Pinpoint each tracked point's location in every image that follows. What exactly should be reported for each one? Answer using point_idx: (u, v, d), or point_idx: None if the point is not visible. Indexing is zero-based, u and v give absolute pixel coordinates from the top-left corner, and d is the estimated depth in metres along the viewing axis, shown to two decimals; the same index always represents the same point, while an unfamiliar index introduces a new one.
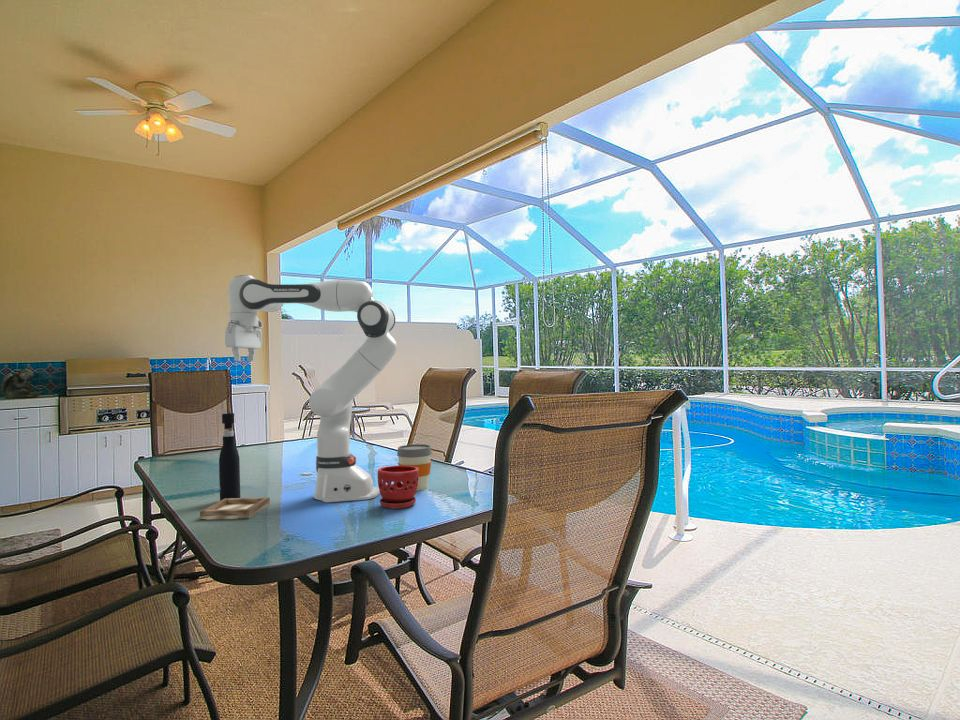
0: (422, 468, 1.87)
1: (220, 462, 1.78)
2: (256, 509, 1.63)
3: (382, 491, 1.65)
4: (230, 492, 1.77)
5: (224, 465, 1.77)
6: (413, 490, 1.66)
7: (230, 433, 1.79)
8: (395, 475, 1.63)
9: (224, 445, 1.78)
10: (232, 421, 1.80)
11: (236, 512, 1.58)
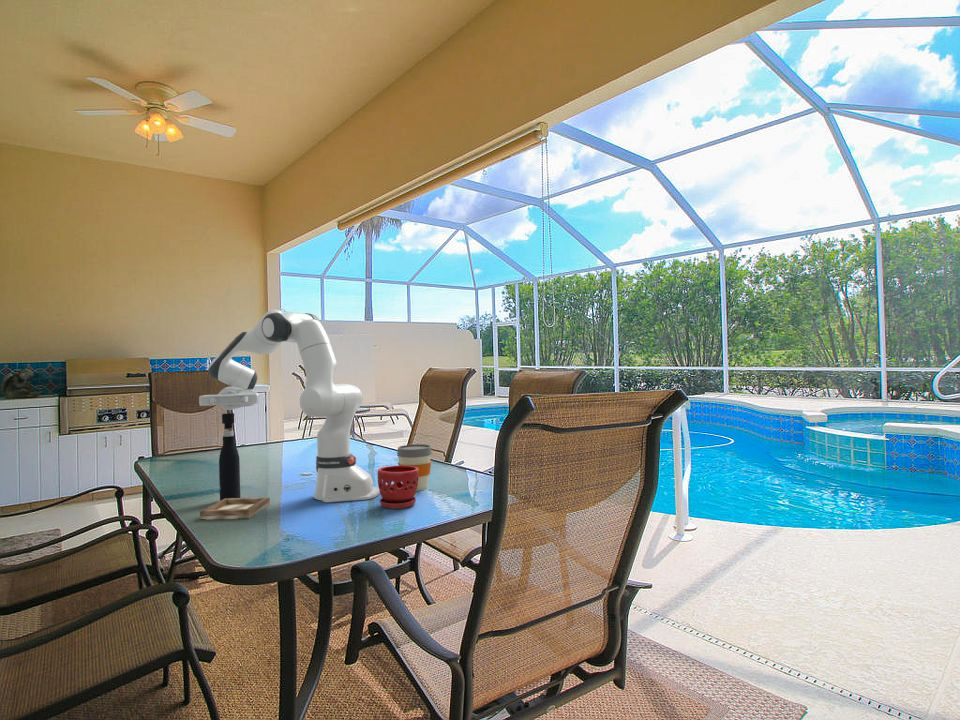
0: (422, 468, 1.87)
1: (220, 462, 1.78)
2: (256, 509, 1.63)
3: (382, 491, 1.65)
4: (230, 492, 1.77)
5: (224, 465, 1.77)
6: (413, 490, 1.66)
7: (230, 433, 1.79)
8: (395, 475, 1.63)
9: (224, 445, 1.78)
10: (232, 421, 1.80)
11: (236, 512, 1.58)
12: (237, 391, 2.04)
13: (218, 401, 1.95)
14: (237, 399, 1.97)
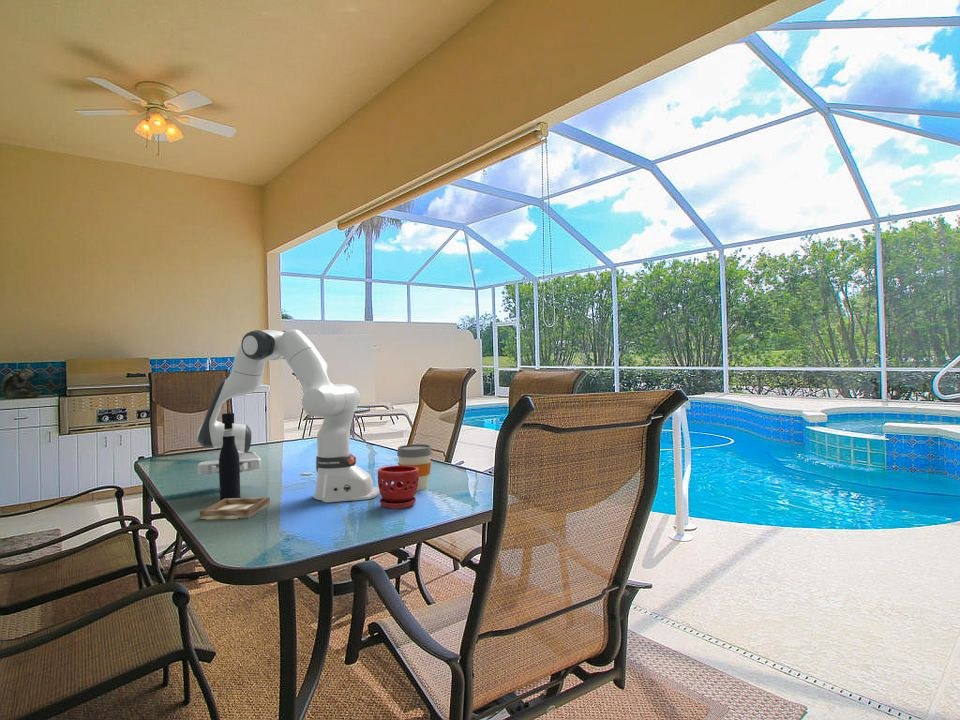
0: (422, 468, 1.87)
1: (220, 462, 1.78)
2: (256, 509, 1.63)
3: (382, 491, 1.65)
4: (230, 492, 1.77)
5: (224, 465, 1.77)
6: (413, 490, 1.66)
7: (230, 433, 1.79)
8: (395, 475, 1.63)
9: (224, 445, 1.78)
10: (232, 421, 1.80)
11: (236, 512, 1.58)
12: None
13: None
14: None
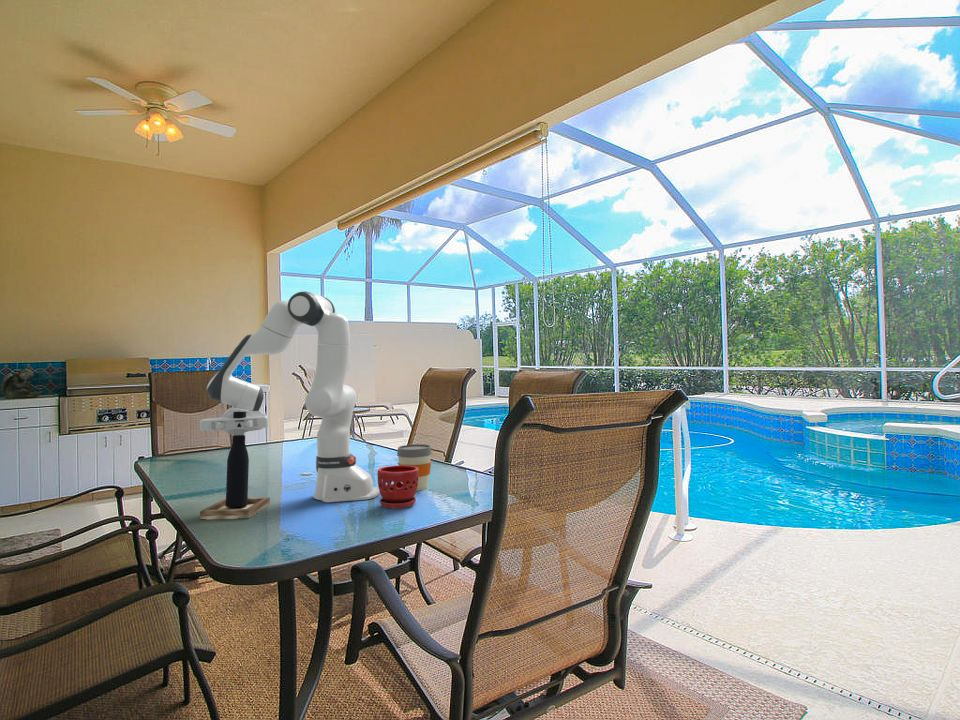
0: (422, 468, 1.87)
1: (228, 462, 1.67)
2: (256, 509, 1.63)
3: (382, 491, 1.65)
4: (237, 495, 1.66)
5: (232, 465, 1.67)
6: (413, 490, 1.66)
7: (240, 432, 1.70)
8: (394, 475, 1.63)
9: (233, 444, 1.69)
10: None
11: (236, 512, 1.58)
12: None
13: None
14: (244, 423, 1.71)
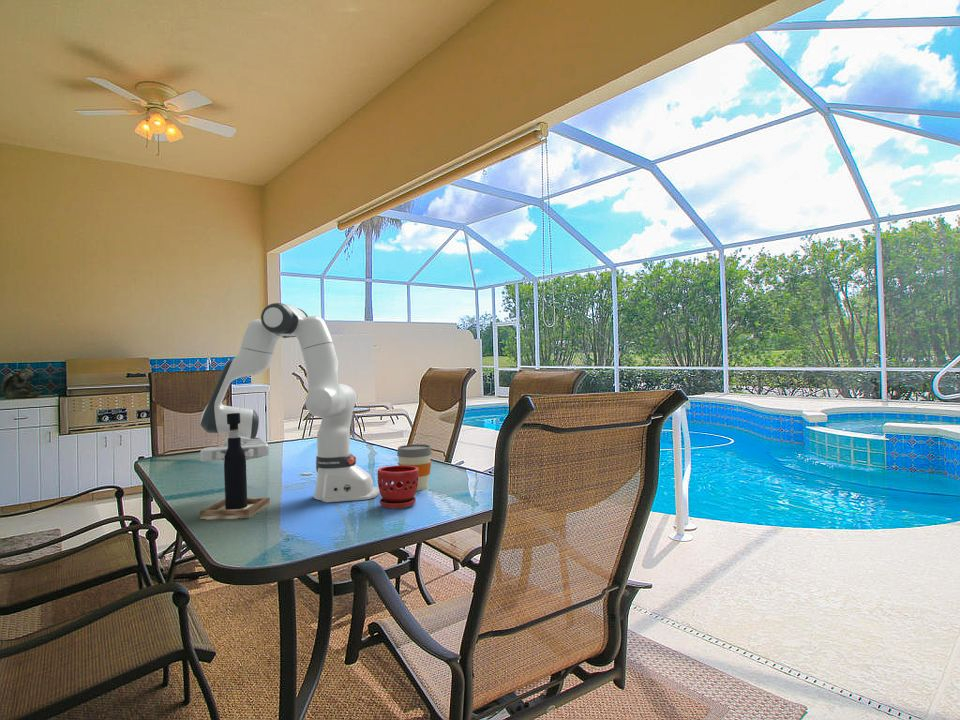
0: (422, 468, 1.87)
1: (225, 465, 1.65)
2: (256, 509, 1.63)
3: (382, 491, 1.65)
4: (236, 498, 1.65)
5: (229, 469, 1.65)
6: (413, 490, 1.66)
7: (235, 434, 1.67)
8: (394, 475, 1.63)
9: (229, 447, 1.66)
10: (237, 421, 1.67)
11: (236, 512, 1.58)
12: (244, 441, 1.77)
13: None
14: (244, 452, 1.71)
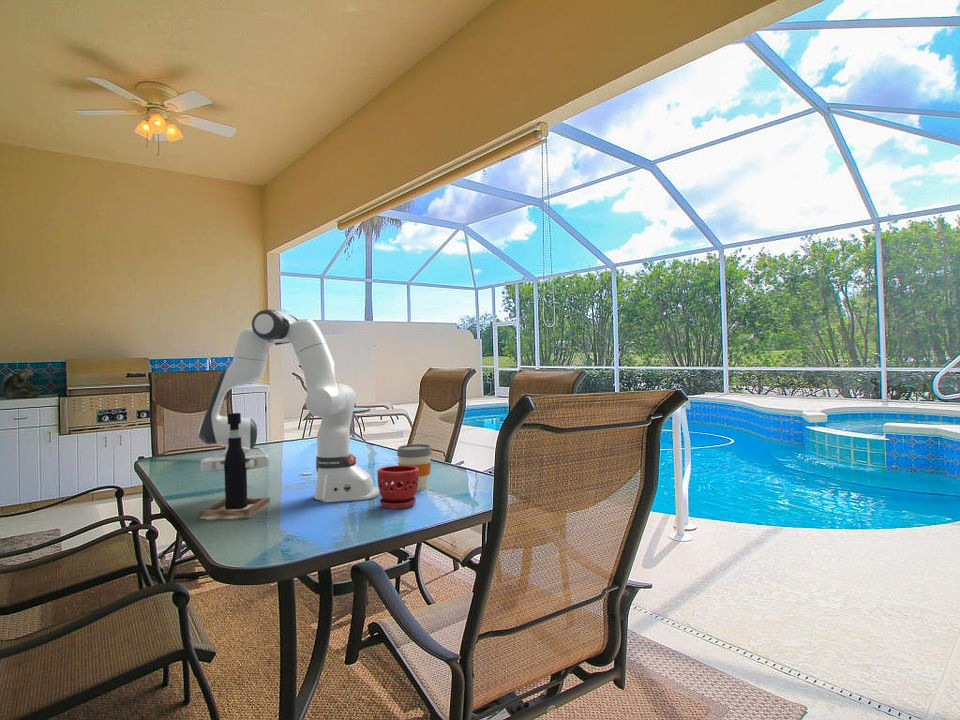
0: (422, 468, 1.87)
1: (225, 466, 1.65)
2: (256, 509, 1.63)
3: (382, 491, 1.65)
4: (236, 498, 1.65)
5: (229, 469, 1.65)
6: (413, 490, 1.66)
7: (236, 434, 1.67)
8: (394, 475, 1.63)
9: (230, 447, 1.66)
10: (238, 422, 1.67)
11: (236, 512, 1.58)
12: (244, 451, 1.77)
13: None
14: None
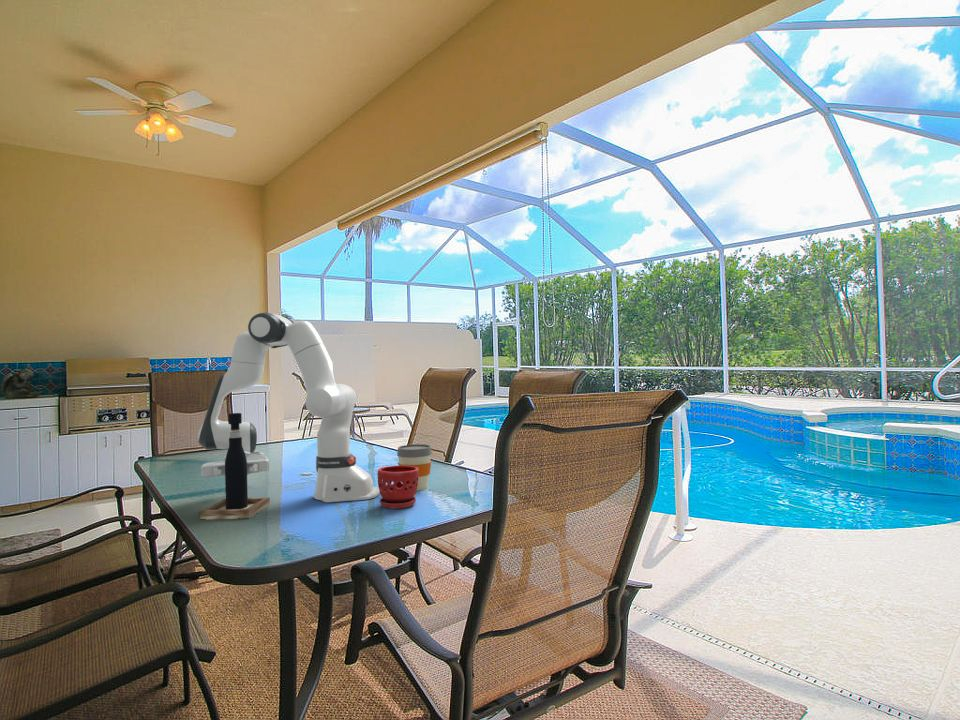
0: (422, 468, 1.87)
1: (226, 465, 1.65)
2: (256, 509, 1.63)
3: (382, 491, 1.65)
4: (236, 498, 1.65)
5: (229, 469, 1.65)
6: (413, 490, 1.66)
7: (237, 434, 1.67)
8: (394, 475, 1.63)
9: (230, 447, 1.66)
10: (239, 421, 1.67)
11: (236, 512, 1.58)
12: None
13: (223, 471, 1.69)
14: None
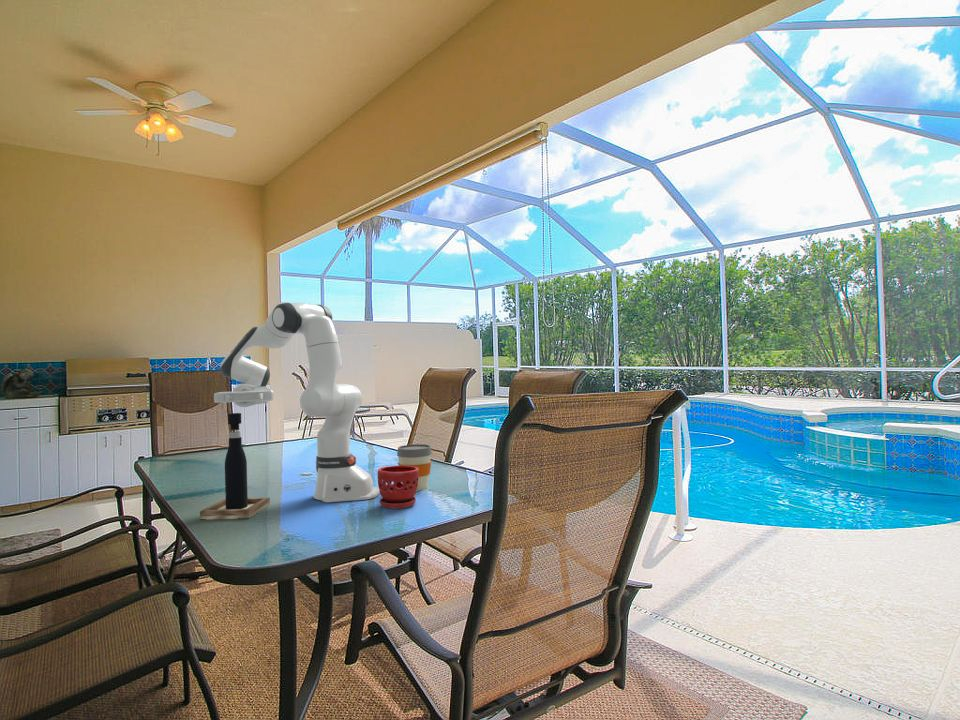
0: (422, 468, 1.87)
1: (226, 466, 1.65)
2: (256, 509, 1.63)
3: (382, 491, 1.65)
4: (236, 498, 1.65)
5: (229, 469, 1.65)
6: (413, 490, 1.66)
7: (236, 434, 1.67)
8: (394, 475, 1.63)
9: (230, 447, 1.66)
10: (238, 422, 1.67)
11: (236, 512, 1.58)
12: (251, 388, 2.02)
13: (233, 398, 1.93)
14: (252, 396, 1.96)
